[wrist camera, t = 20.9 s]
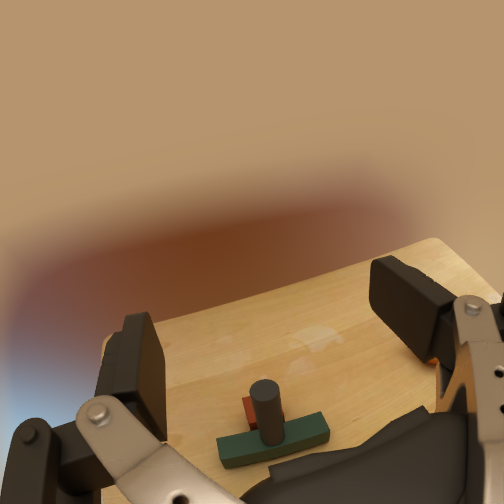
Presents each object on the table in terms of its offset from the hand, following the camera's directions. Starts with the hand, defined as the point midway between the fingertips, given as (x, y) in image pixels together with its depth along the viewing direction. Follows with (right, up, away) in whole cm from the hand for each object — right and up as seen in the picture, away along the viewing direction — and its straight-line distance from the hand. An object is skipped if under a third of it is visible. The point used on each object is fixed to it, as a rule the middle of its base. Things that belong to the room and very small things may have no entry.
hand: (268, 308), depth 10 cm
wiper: (+2, -21, +20) cm, 29 cm away
